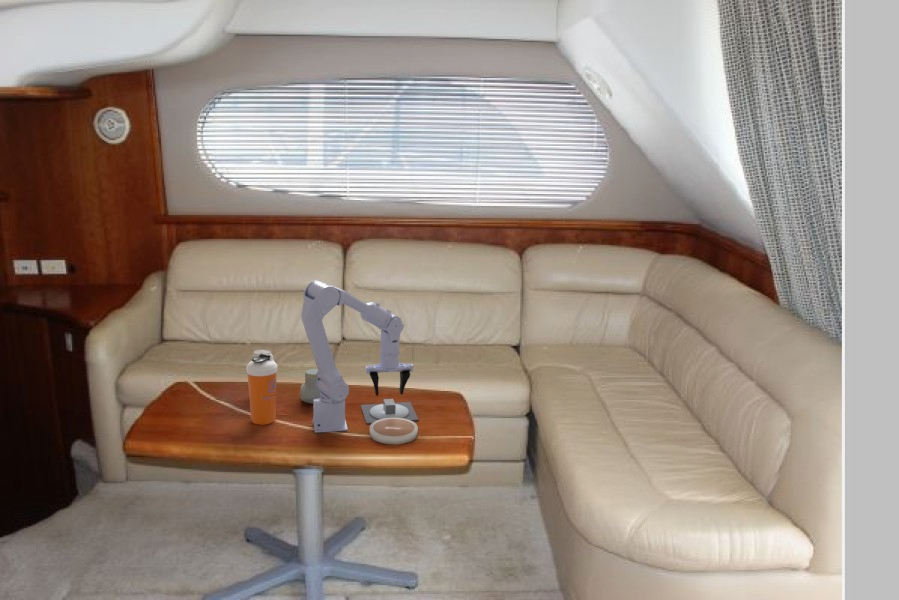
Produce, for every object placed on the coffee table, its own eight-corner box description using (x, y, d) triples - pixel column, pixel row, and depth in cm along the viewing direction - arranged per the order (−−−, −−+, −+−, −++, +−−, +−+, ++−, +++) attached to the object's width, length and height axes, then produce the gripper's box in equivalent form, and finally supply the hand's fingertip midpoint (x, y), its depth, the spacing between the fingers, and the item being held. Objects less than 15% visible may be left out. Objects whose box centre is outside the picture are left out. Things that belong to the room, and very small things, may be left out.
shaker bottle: (243, 424, 215) (240, 360, 210) (255, 412, 223) (253, 351, 218) (272, 427, 214) (270, 363, 209) (283, 415, 222) (281, 353, 217)
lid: (372, 421, 219) (372, 410, 218) (367, 406, 230) (367, 395, 229) (411, 419, 222) (412, 408, 221) (404, 404, 233) (405, 393, 232)
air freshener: (326, 407, 230) (325, 377, 227) (299, 407, 229) (299, 377, 226) (329, 394, 240) (328, 365, 238) (303, 394, 239) (303, 365, 237)
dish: (373, 446, 204) (373, 439, 204) (366, 425, 217) (366, 419, 217) (422, 442, 207) (422, 435, 207) (412, 422, 220) (412, 416, 220)
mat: (366, 424, 218) (366, 422, 218) (360, 406, 231) (360, 404, 231) (418, 420, 222) (418, 419, 222) (410, 403, 235) (410, 401, 235)
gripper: (367, 357, 216) (367, 400, 219) (415, 355, 220) (414, 397, 223) (364, 349, 223) (364, 391, 226) (411, 348, 226) (410, 389, 230)
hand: (389, 393), depth 225 cm, fingers open, 7 cm apart
